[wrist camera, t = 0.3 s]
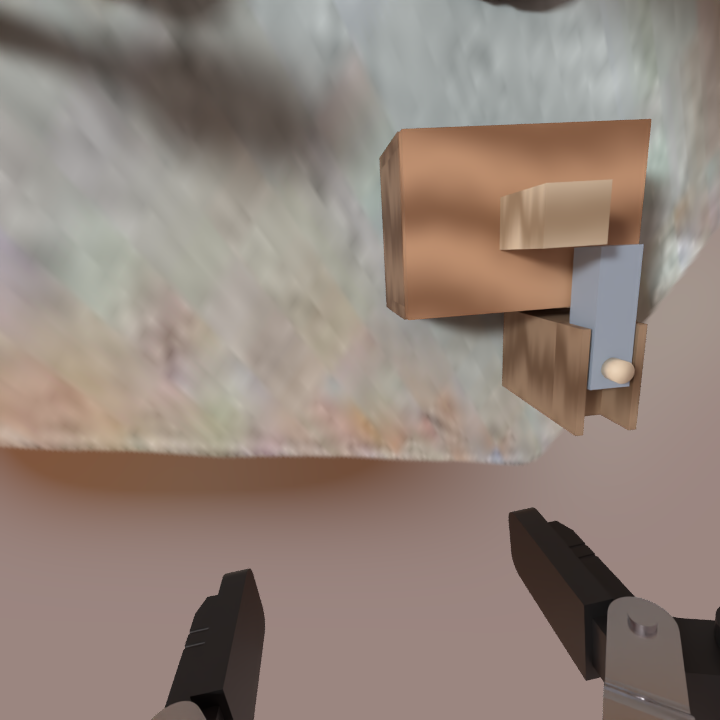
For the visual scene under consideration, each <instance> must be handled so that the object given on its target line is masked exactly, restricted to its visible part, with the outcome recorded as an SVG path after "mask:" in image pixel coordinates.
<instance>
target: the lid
mask: <svg viewBox="0 0 720 720" xmlns="http://www.w3.org/2000/svg"><path fill="white" fill-rule="evenodd" d="M650 128H651V119H639V120H614V121H590V122H565V123H540V124H515V125H491V126H466V127H441V128H416V129H402V130H401V131H400V132H399V150H400V177H401V204H402V231H403V259H404V286H405V313H406V319H408V320H415V319H428V318H440V317H452V316H464V315H476V314H489V313H501V312H513V311H525V310H538V309H550V308H562V307H571V291H572V275H573V259H574V248H577V247H591V246H606V245H629V244H639V238H640V228H641V218H642V208H643V198H644V188H645V178H646V168H647V158H648V148H649V138H650Z"/></svg>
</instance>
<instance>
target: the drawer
mask: <svg viewBox="0 0 720 720" xmlns="http://www.w3.org/2000/svg"><path fill="white" fill-rule="evenodd" d="M643 247H644V244H629V245H606V246H591V247H577V248H574V259H573V275H572V291H571V307H570V324H574V325H578V326H581V327H585V328H589V329H591V337H590V350H589V363H588V376H587V389H589V390H597V389H607V388H617V387H627V386H629V383H630V380H631V379H632V378H633V376H634V372H635V369H634V366H633V365H632V354H633V344H634V335H635V325H636V315H637V306H638V296H639V286H640V276H641V267H642V257H643Z"/></svg>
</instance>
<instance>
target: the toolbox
mask: <svg viewBox="0 0 720 720" xmlns="http://www.w3.org/2000/svg"><path fill="white" fill-rule="evenodd" d="M380 177H381V198H382V219H383V240H384V260H385V281H386V302H387V307H388V308H389V309H390V310H392V311H393V312H395V313H396V314H397V315H399V316H400V317H402V318H403V319H406V313H405V286H404V259H403V231H402V204H401V177H400V150H399V132H397V133H396V135H395V136H394V138H393V139H392V140H391V142H390V143H389V145H388V146H387V148H386V149H385V151H384V152H383V154H382V155H381V157H380ZM646 332H647V324H644V323H639V322H636V325H635V335H634V344H633V354H632V365H633V366H634V369H635V372H634V376H633V378H632V379H631V380H630V383H629V386H627V387H617V388H607V389H597V390H589V389H587V376H588V363H589V350H590V337H591V329H589V328H585V327H581V326H578V325H574V324H570V308H567V307H562V308H550V309H538V310H525V311H513V312H504V330H503V374H502V386H504V387H505V388H506V389H508V390H509V391H511V392H512V393H514V394H515V395H517V396H518V397H520V398H521V399H522V400H524V401H525V402H527V403H528V404H530V405H531V406H533V407H534V408H535V409H537V410H538V411H540V412H541V413H543V414H544V415H546V416H547V417H548V418H550V419H551V420H553V421H554V422H556V423H557V424H559V425H560V426H561V427H563V428H564V429H566V430H567V431H569V432H570V433H572V434H573V435H575V436H580V435H583V429H584V416H590V415H602V416H604V417H605V418H607V419H609V420H611V421H613V422H614V423H616V424H618V425H620V426H622V427H624V428H625V429H627V430H634V429H636V423H637V414H638V404H639V396H640V387H641V378H642V369H643V359H644V351H645V342H646Z"/></svg>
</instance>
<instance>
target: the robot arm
mask: <svg viewBox="0 0 720 720" xmlns="http://www.w3.org/2000/svg"><path fill="white" fill-rule="evenodd" d="M509 530H510V542H511V554H512V559H513V562H514V565H515V568H516V570H517V572H518V574H519V576H520V577H521V579H522V581H523V582H524V584H525V586H526V587H527V588H528V590H529V592H530V593H531V595H532V596H533V598H534V600H535V601H536V603H537V604H538V606H539V608H540V609H541V611H542V612H543V614H544V615H545V617H546V619H547V620H548V622H549V623H550V625H551V626H552V628H553V630H554V631H555V633H556V634H557V636H558V637H559V639H560V641H561V642H562V643H563V645H564V647H565V649H566V650H567V652H568V653H569V655H570V656H571V658H572V660H573V661H574V663H575V664H576V666H577V667H578V669H579V670H580V672H581V674H582V675H583V677H584V678H585V680H586V681H587V680H591V679H595V678H599V677H601V678H602V680H603V681H604V695H603V720H720V607H719V608H718V609H717V611H716V618H715V621H712V620H698V619H684V618H676V617H672V616H671V615H670V614H669V613H668V612H667V611H665V610H664V609H663V608H661V607H660V606H658V605H656V604H655V603H653V602H650V601H648V600H645V599H642V598H637V597H635V596H634V595H633V594H632V593H631V592H630V591H629V590H628V589H627V588H626V587H625V586H624V585H623V584H622V582H621V581H620V580H619V579H618V578H617V577H616V576H615V575H614V574H613V573H612V572H611V571H610V570H609V568H608V567H607V566H606V565H605V564H604V563H603V562H602V561H601V560H600V559H599V558H598V557H597V556H595V553H593V551H592V550H591V549H590V548H589V547H588V546H586V545H585V543H584V542H583V541H582V539H580V537H579V536H578V535H577V534H576V533H575V532H574V531H573V530H572V529H570V528H568V527H566V526H565V525H563V524H561V523H559V522H558V521H553V522H547V521H546V520H545V519H544V518H543V516H542V515H541V514H540V513H539V512H538V511H537V510H536V509H535V508H528V509H523V510H519V511H514V512H510V513H509ZM264 634H265V618H264V612H263V607H262V603H261V600H260V597H259V593H258V589H257V586H256V582H255V579H254V576H253V573H252V570H251V569H245V570H241V571H236V572H231V573H227V574H225V575H224V576H223V579H222V582H221V586H220V590H219V593H218V595H215V596H210V597H207V598H206V600H205V601H204V603H203V604H202V605H201V607H200V608H199V609H198V611H197V612H196V614H195V616H194V619H193V622H192V626H191V629H190V634H189V635H188V638H187V641H186V644H185V649H184V650H183V653H182V656H181V660H180V662H179V665H178V669H177V672H176V675H175V678H174V681H173V684H172V687H171V690H170V693H169V696H168V700H167V702H166V705H165V708H164V709H163V710H162V711H160V712H159V713H158V714H157V715H156V716H154V717H153V718H152V720H253V719H254V712H255V704H256V696H257V689H258V681H259V672H260V665H261V657H262V649H263V641H264Z"/></svg>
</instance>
